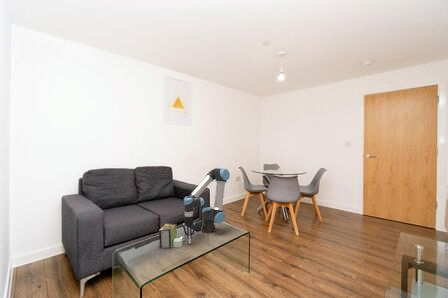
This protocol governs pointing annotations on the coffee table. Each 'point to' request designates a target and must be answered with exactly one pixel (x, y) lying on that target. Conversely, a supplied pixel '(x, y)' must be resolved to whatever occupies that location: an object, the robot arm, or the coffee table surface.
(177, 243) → the sage block
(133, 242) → the coffee table surface
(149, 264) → the coffee table surface
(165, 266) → the coffee table surface
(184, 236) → the metal tin
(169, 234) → the protein box
